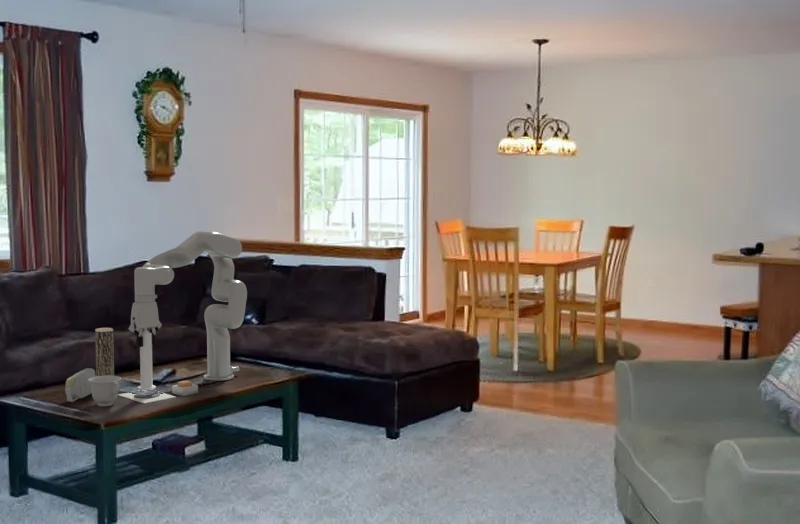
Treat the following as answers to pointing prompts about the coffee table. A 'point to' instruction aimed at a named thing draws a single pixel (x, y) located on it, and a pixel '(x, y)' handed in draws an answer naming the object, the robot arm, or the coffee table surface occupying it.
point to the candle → (146, 362)
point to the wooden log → (104, 351)
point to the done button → (185, 383)
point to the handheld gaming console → (79, 384)
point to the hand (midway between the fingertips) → (145, 344)
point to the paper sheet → (146, 397)
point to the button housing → (185, 390)
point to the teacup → (105, 389)
